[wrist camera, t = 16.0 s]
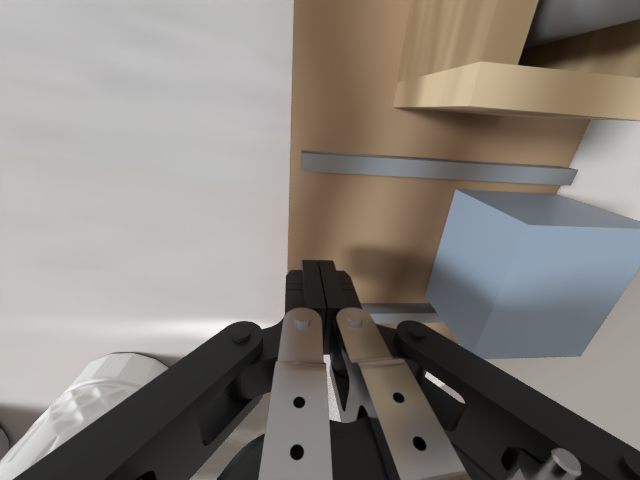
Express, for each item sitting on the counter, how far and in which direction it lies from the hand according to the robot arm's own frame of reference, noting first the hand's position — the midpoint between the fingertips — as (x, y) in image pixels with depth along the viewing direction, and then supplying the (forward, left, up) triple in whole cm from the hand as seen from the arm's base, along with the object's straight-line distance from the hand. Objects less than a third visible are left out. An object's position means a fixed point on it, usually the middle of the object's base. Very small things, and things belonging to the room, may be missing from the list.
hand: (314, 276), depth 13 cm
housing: (+11, 0, -3) cm, 11 cm away
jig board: (+6, +3, -4) cm, 8 cm away
